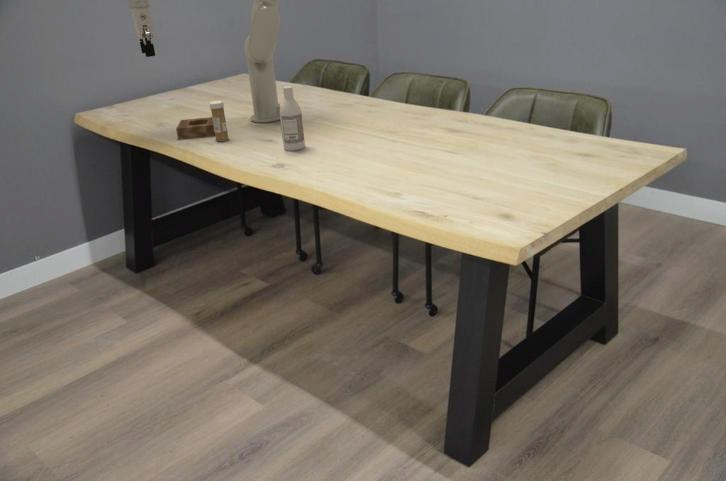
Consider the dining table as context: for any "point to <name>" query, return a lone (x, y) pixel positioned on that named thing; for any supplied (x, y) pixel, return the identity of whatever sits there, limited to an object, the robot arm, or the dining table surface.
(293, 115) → the bath foam
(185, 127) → the socket board
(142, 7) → the robot arm
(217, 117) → the sprinkles bottle
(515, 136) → the dining table surface
